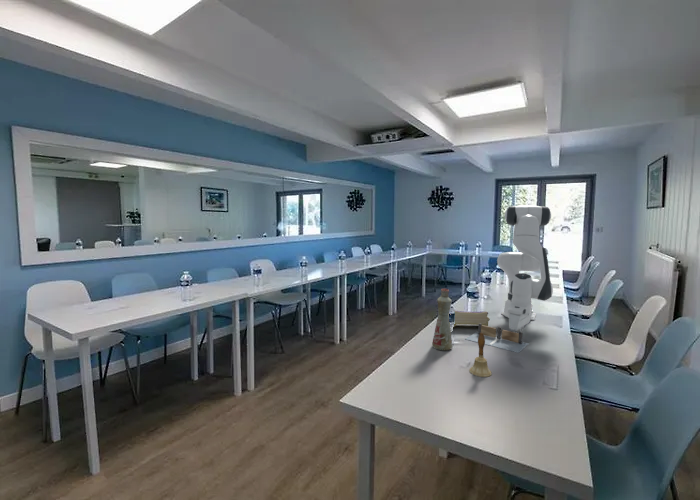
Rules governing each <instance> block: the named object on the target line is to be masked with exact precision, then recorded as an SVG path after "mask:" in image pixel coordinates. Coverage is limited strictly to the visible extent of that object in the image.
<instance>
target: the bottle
mask: <svg viewBox="0 0 700 500" xmlns="http://www.w3.org/2000/svg"><path fill="white" fill-rule="evenodd" d="M449 293H450V291H449V289H448V288H441V289H440V296H439V297H438V298H437V312H438V313H437V318H436V324H435V329H434V334H433V338H432V342H431V343H432V347H433V349H436V350H438V351H442V352H443V351H450V350H451V349H453V341H452V332H451V331H452V330H451V328H450V322H449V314H450V311H451V304H452V299H451V298H450V297H449Z"/></svg>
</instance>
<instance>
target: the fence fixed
mask: <svg viewBox="0 0 700 500" xmlns="http://www.w3.org/2000/svg"><path fill="white" fill-rule="evenodd" d="M477 326H478V327H477V328H478V329H477V332H478V334H480V332H482V333H483V334H484V335H487V336H491V337H496V336H497V339H501V337H502V326H497V327H492V326H489V325H488V326H484V325H482V324H481V323H479V325H477Z"/></svg>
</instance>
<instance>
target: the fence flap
mask: <svg viewBox="0 0 700 500" xmlns="http://www.w3.org/2000/svg"><path fill="white" fill-rule="evenodd" d="M501 337H502V339H504V340H508V341H513V342H517V343H519V344H522V342H523V331H522V332H519V333H517V332H516V331H512V330H507V329H501Z"/></svg>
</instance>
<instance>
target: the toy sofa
mask: <svg viewBox="0 0 700 500" xmlns="http://www.w3.org/2000/svg"><path fill="white" fill-rule="evenodd" d="M454 311H455V324H454V327H456V326H458V325H467V326H468V325H470V326H473V325H474V326H475V325H476V326H479V323H481V324H482V325H484V326H488V327H489V322H490V319H491V318H489V316H488V315H489V311H462V310H461V311H460V310H454Z"/></svg>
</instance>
